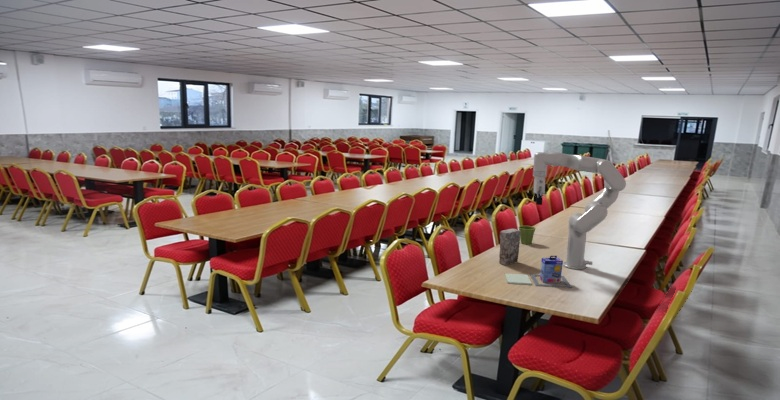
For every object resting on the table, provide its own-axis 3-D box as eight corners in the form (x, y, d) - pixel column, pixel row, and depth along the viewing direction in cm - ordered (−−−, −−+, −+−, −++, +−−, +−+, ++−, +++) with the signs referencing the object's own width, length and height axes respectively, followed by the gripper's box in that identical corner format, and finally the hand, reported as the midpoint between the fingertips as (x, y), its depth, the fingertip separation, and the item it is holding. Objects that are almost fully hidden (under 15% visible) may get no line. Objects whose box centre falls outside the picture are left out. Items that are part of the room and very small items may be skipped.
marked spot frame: (563, 276, 260) (563, 276, 260) (572, 287, 243) (572, 287, 243) (529, 274, 262) (530, 274, 262) (535, 285, 245) (535, 285, 245)
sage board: (527, 276, 260) (527, 274, 260) (531, 284, 246) (531, 283, 246) (504, 274, 261) (504, 273, 261) (507, 283, 247) (508, 281, 247)
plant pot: (520, 240, 339) (521, 224, 337) (537, 243, 332) (538, 227, 330) (514, 243, 330) (515, 227, 328) (531, 246, 323) (532, 230, 321)
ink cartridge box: (543, 283, 249) (545, 256, 247) (539, 279, 255) (541, 253, 252) (561, 282, 250) (563, 256, 248) (556, 279, 256) (559, 253, 253)
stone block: (507, 266, 277) (510, 232, 274) (497, 263, 282) (499, 230, 278) (519, 261, 286) (521, 229, 283) (509, 259, 291) (511, 227, 288)
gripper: (549, 175, 264) (547, 206, 267) (543, 172, 281) (541, 201, 284) (535, 175, 265) (533, 205, 268) (530, 172, 282) (528, 200, 285)
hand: (537, 203), depth 276 cm, fingers open, 9 cm apart
